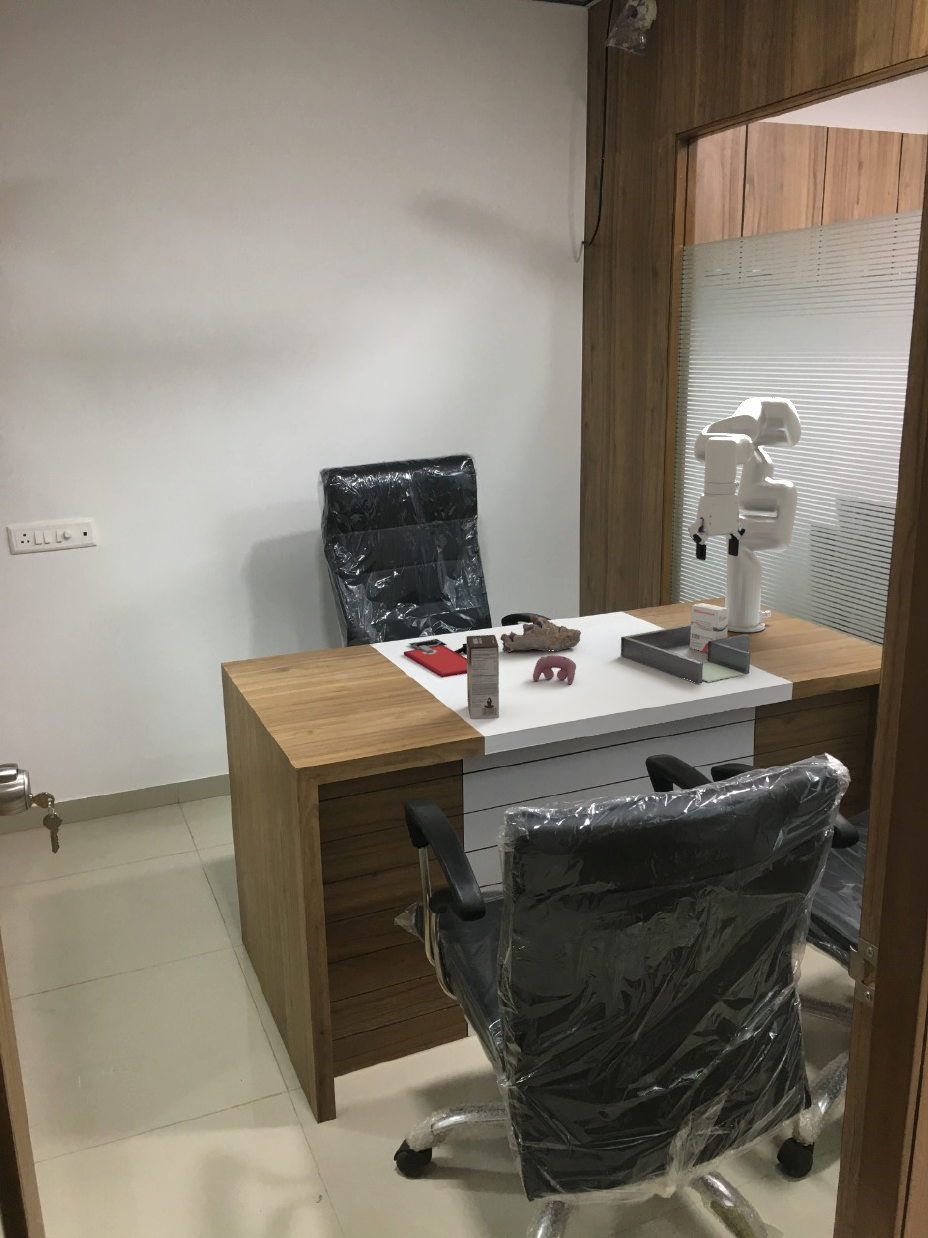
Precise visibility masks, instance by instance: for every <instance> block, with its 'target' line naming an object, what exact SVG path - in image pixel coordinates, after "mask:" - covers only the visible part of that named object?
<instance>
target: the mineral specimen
mask: <svg viewBox="0 0 928 1238" xmlns="http://www.w3.org/2000/svg"><path fill="white" fill-rule="evenodd" d="M529 615H530V616H529V618H530V621H531V623H523V624H522V628H523V633H522V634H518V633H516V632H513V631H510V632H509V634H507V633H502V634H501V636H500V638H499V639H500V641H502V651H503V652H504V653H507V654H509V653H510V652H513V651H517V650H520V651H529V650H532V649H535V650H538V651H541V650H547V651H548V650H550V651H549V652H558V651H557V650H561V651H564V650H568V649H570V648H575V647H577V645H578V644H579V643H580V642H581V634H582V632H581V630H579V629H574V628H568V627H567V626H565V625H561V626H558V625H556V624H555V623H553V622H550V621H549V620H548V619H546V618H545V617H541V616H537V614H529ZM563 649H564V650H563ZM552 650H554V651H552Z"/></svg>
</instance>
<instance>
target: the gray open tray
mask: <svg viewBox="0 0 928 1238" xmlns="http://www.w3.org/2000/svg"><path fill="white" fill-rule="evenodd" d="M690 636H691V623H690V624H683V625H679V626H674V627H673V626H672V627H668V628H661V629H657V630H652V631H647V632H641V633H635V634H630V635H626V636H625V635H624V636H621V637H620V639H621V641H620V657H623V658H625V659H628V660H631V661H634V662H637V663H639V664H643V665H644V666H647V667H650V668H652V669H655V670H657V671H661V672H663V673H666V674H670V675H672V676H674V675H675V677H676V678H677V677H678V678H680V679H682V678H685V679H688V680H691V681H693V682H695V683H694V684H696V683H702V684H703V681H702V673H703V664H704V663H703V662H702V661H700V660H695V659H692V658H690V657H687V656H685V655H682V654H678V653H675V652H672V651H670V650H668V649H671V648H677V647H682V646H687V645H690ZM749 647H750V634H747V633H744V634H743V633H742V634H737V635H735V636H727V638H723V639H718V640H713V641H708V653H706V654H707V656H706V658H707V659H706V660H708V661H707V662H709V663H713V664H716V665H719V666H722V667H725V668H727V667H728V669H731V670H734V671H737V672H740V673H743V674H749V673H750V667H751V652H750V651H749V649H750V648H749ZM666 649H667V650H666ZM685 679H684V680H685ZM688 680H687V681H688ZM691 681H690V682H691ZM693 682H692V683H693Z"/></svg>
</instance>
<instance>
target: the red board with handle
mask: <svg viewBox="0 0 928 1238" xmlns="http://www.w3.org/2000/svg"><path fill="white" fill-rule="evenodd" d="M408 645H410V646H412V647H413V648H415V649H411V650H407V651H403V655H404V656H405V657H406V658H408V659H410V660H412V661H414V662H415V663H417V664H419V665H420V666H422V667H424V668H425V669H427V670H429V671H431V673H434V674H436V675H437V676H439V677H440V678H447V677H448V678H449V677H453V676H459V675H464V674H466V675H467V657H465V656H463V655H461V654H464V655H466V656H467V642H465V643H462V647H460V648H458V649H455V650H452V649H451V648H449V647H447V645H448V644H447V643H445V642H443V641H442V640H440V639H438V638H434V639H428V640H427V639H426V640H422V641H417V642H410V643H408Z"/></svg>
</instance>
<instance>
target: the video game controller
mask: <svg viewBox="0 0 928 1238" xmlns="http://www.w3.org/2000/svg"><path fill="white" fill-rule="evenodd" d="M553 669H559V670H558V671H557V673H556V678H557V679H558V680H560V681H565V680H567V684H568V685H569V686H571V685H572V684H573V682H574V680H575V675H576V669H577V665H576V662H575V661H574V660H572V659H571V658H569V657H566V656H563V655H553V654H551V655H545V656H543V655H542V656H541V657H540V658H538V660H537V661H536V663H535V666H534V669H533V674H532V679H533V682H535V683H536V682H537V681H538V680H540V678H541V675H542V674H543V676H544V678H545V679H547V680H552V679H553V678H554V676H555V673H554V670H553Z"/></svg>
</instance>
